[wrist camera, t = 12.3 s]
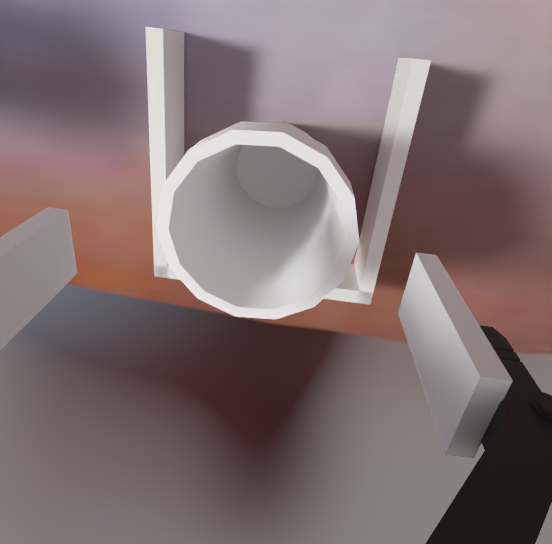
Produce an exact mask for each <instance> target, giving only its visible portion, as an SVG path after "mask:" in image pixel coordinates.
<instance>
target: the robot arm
mask: <svg viewBox="0 0 552 544" xmlns="http://www.w3.org/2000/svg"><path fill="white" fill-rule="evenodd" d="M76 274H77V268H76V261H75V254H74V248H73V241H72V234H71V227H70V220H69V213H68V210H67V209H58V208H50V207H47V208H46V209H44V210H43V211H41V212H39V213H38V214H36V215H35V216H33V217H32V218H30V219H28V220H27V221H25V222H24V223H22V224H20V225H19V226H17V227H16V228H14V229H12V230H11V231H9V232H8V233H6V234H5V235H3V236H1V237H0V350H1V349H2V348H3V347H4V346H5V345H6V344H7V343H8V342H9V341H10V340H11V339H12V338H13V337H14V336H15V335H16V334H17V333H18V332H19V331H20V330H21V329H22V328H23V327H24V326H25V325H26V324H27V323H28V322H29V321H30V320H31V319H32V318H33V317H34V316H35V315H36V314H37V313H38V312H39V311H40V310H41V309H42V308H43V307H44V306H45V305H46V304H47V303H48V302H49V301H50V300H51V299H52V298H53V297H54V296H55V295H56V294H57V293H58V292H59V291H60V290H61V289H62V288H63V287H64V286H65V285H66V284H67V283H68V282H69V281H70V280H71V279H72V278H73V277H74V276H75V275H76ZM398 315H399V318H400V321H401V324H402V327H403V330H404V333H405V336H406V339H407V342H408V345H409V348H410V350H411V354H412V357H413V360H414V363H415V366H416V369H417V372H418V375H419V378H420V381H421V384H422V387H423V390H424V393H425V396H426V399H427V402H428V405H429V408H430V411H431V414H432V417H433V420H434V423H435V426H436V429H437V432H438V435H439V438H440V441H441V444H442V447H443V450H444V453H445V454H446V455H453V456H461V457H469V458H474V456H475V454H476V453H477V451H478V449H479V446H480V444H481V443H482V444H483V446H484V449H485V451H484V453H483V455H482V456H481V458H480V459H479V461H478V462H477V464H476V465H475V467H474V469H473V470H472V472H471V473H470V475H469V476H468V478H467V480H466V481H465V483H464V484H463V486H462V488H461V489H460V491H459V492H458V494H457V495H456V497H455V499H454V500H453V502H452V503H451V505H450V506H449V508H448V509H447V511H446V513H445V514H444V516H443V517H442V519H441V520H440V522H439V524H438V525H437V527H436V528H435V530H434V531H433V533H432V535H431V536H430V538H429V539H428V541H427V543H426V544H535V542H536V540H537V538H538V535H539V533H540V530H541V527H542V525H543V522H544V520H545V517H546V515H547V512H548V510H549V507H550V505H551V502H552V396H551V395H549V394H546V393H543V392H541V390H540V389H539V387H538V386H537V384H536V383H535V381H534V380H533V378H532V377H531V375H530V374H529V372H528V371H527V369H526V368H525V366H524V365H523V363H522V362H520V359H519V357H518V356H517V354H516V353H515V352H513V348H512V347H511V345H510V344H509V342H508V341H507V339H506V338H505V337H504V336H502V335H501V334H500V333H499V332H498V331H496V330H495V329H494V328H493V327H488V326H480V325H479V324H478V323H477V321H476V319H475V318H474V316H473V314H472V313H471V311H470V309H469V308H468V306H467V304H466V303H465V301H464V299H463V298H462V296H461V295H460V293H459V291H458V290H457V288H456V286H455V285H454V283H453V281H452V280H451V278H450V276H449V275H448V273H447V271H446V270H445V268H444V267H443V265H442V263H441V262H440V260H439V258H438V257H437V255H433V254H424V253H416V254H415V258H414V261H413V264H412V268H411V271H410V274H409V278H408V281H407V285H406V288H405V291H404V295H403V298H402V301H401V305H400V308H399V312H398Z"/></svg>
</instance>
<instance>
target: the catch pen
mask: <svg viewBox="0 0 552 544" xmlns="http://www.w3.org/2000/svg"><path fill="white" fill-rule="evenodd" d="M145 30H146V57H147V85H148V113H149V141H150V168H151V196H152V224H153V252H154V276H156V277H164V278H171V279H179V278H178V277H177V276H176V275H175V274H174V273H173V271H172V270H171V269H170V268H169V265H168V262H167V259H166V257H165V254H164V251H163V248H162V245H161V242H160V239H159V236H158V233H157V230H156V224H157V217H158V209H159V202H160V194H161V187H162V185H163V184H164V182H165V181H166V180H167V178H168V177H169V175H170V174H171V173H172V171H173V170H174V169H175V167H176V166H177V165H178V163H179V162H180V160H181V159H182V158H183V156H184V32H180V31H174V30H168V29H161V28H152V27H145ZM430 63H431V61H430V60H422V59H413V58H398V63H397V68H396V72H395V77H394V82H393V86H392V91H391V95H390V100H389V105H388V109H387V114H386V119H385V123H384V128H383V132H382V137H381V142H380V146H379V151H378V156H377V160H376V165H375V169H374V174H373V179H372V183H371V188H370V193H369V197H368V202H367V206H366V211H365V216H364V220H363V225H362V230H361V234H360V239H359V244H358V248H357V253H356V257H355V262H354V264H350V266H349V269H348V272H347V274H346V277H345V279H344V281H342V282H341V283H340V284H339V285H338V286H337V287H336V288H335V289H334V290H332V291H331V292H330V293H329V294H328V295H327V296H326V297H325V298H324V299H331V300H339V301H347V302H354V303H362V304H369V305H370V304H371V300H372V296H373V292H374V288H375V284H376V280H377V276H378V272H379V268H380V264H381V260H382V256H383V252H384V247H385V243H386V239H387V235H388V231H389V227H390V223H391V219H392V215H393V211H394V207H395V203H396V199H397V195H398V191H399V187H400V183H401V179H402V175H403V171H404V167H405V163H406V159H407V155H408V151H409V147H410V143H411V139H412V135H413V131H414V127H415V123H416V119H417V115H418V111H419V107H420V103H421V99H422V95H423V91H424V87H425V83H426V79H427V75H428V71H429V67H430ZM179 280H180V279H179Z"/></svg>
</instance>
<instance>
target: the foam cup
mask: <svg viewBox="0 0 552 544" xmlns="http://www.w3.org/2000/svg"><path fill="white" fill-rule="evenodd" d="M156 230H157V233H158V236H159V239H160V242H161V245H162V248H163V251H164V254H165V257H166V259H167V262H168V265H169V268H170V269H171V270H172V271H173V273H174V274H175V275H176V276H177V277H178V278H179V279H180V280H181V281H182V282H183V283H184V284H185V286H186V287H187V288H188V289H189V290H190V291H191V292H192V293H193V294H194V295H195V296H196V297H197V298H198V299H199V300H202V301H204V302H206V303H208V304H210V305H212V306H214V307H216V308H218V309H220V310H223V311H225V312H227V313H229V314H231V315H233V316H236V317H250V318H263V319H278V318H282V317H285V316H288V315H291V314H294V313H297V312H300V311H303V310H306V309H309V308H313V307H315V306H316V305H317V304H318V303H319V302H320V301H321V300H322V299H324V298H325V297H326V296H327V295H328V294H329V293H330V292H331V291H332V290H334V289H335V288H336V287H337V286H338V285H339V284H340V283H341V282H342V281H344V279H345V277H346V274H347V272H348V269H349V266H350V264H351V261H352V259H353V256H354V254H355V251H356V249H357V246H358V244H359V233H358V224H357V215H356V206H355V197H354V193H353V190H352V186H351V183H350V181H349V179H348V178H347V176H346V175H345V173H344V172H343V170H342V169H341V167H340V166H339V164H338V163H337V161H336V160H335V158H334V157H333V155H332V154H331V152H330V151H329V149H328V148H327V146H325V145H323V144H322V143H320V142H318V141H316V140H315V139H313V138H311V137H310V136H309V135H308V134H307V133H305V132H304V131H302V130H300V129H298V128H297V127H295V126H293V125H291V124H290V123H273V122H267V123H265V122H244V121H241V122H239V123H236V124H234V125H232V126H230V127H228V128H226V129H223V130H221V131H219V132H217V133H215V134H213V135H210V136H208V137H206V138H204V139H202V140H200V141H199V142H198V143H197V144H195V145H194V146H193V147H191V148H190V149H189V150H188V151H187V152H186V154H185V155H184V156H183V158H182V159H181V160H180V162H179V163H178V165H177V166H176V167H175V169H174V170H173V171H172V173H171V174H170V175H169V177H168V178H167V180H166V181H165V182H164V184H163V185H162V187H161V194H160V202H159V209H158V217H157V224H156Z"/></svg>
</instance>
